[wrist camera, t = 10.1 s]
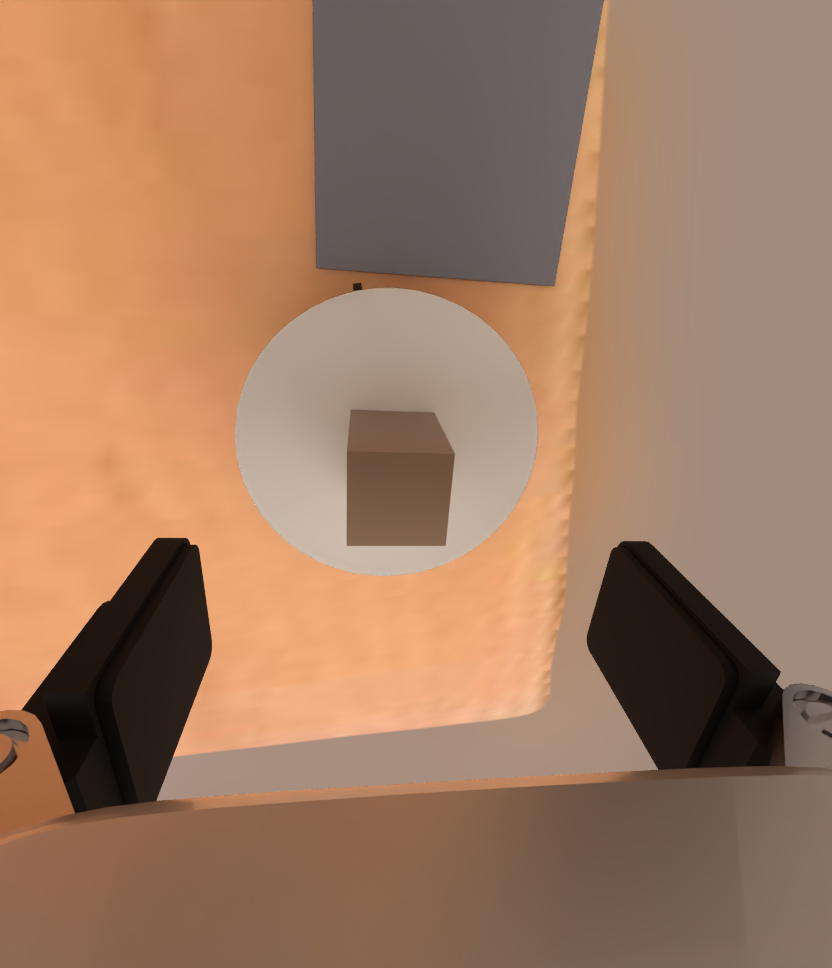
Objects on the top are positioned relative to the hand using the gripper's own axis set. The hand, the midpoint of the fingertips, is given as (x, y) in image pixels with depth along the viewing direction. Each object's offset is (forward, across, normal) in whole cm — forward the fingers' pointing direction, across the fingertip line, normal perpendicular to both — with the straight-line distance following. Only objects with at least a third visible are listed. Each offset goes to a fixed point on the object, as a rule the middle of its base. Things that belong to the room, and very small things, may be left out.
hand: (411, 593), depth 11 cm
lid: (+12, 0, +1) cm, 12 cm away
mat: (+22, -3, -13) cm, 26 cm away
